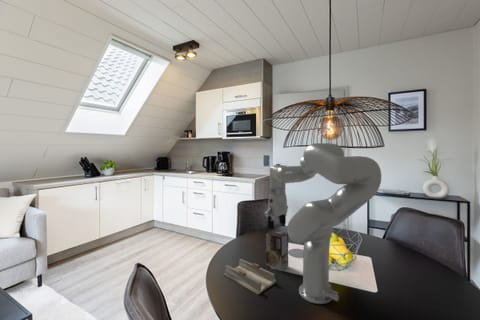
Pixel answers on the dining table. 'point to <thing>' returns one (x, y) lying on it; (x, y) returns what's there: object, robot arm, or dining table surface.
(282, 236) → the coffee box
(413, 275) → the dining table surface
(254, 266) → the rail
